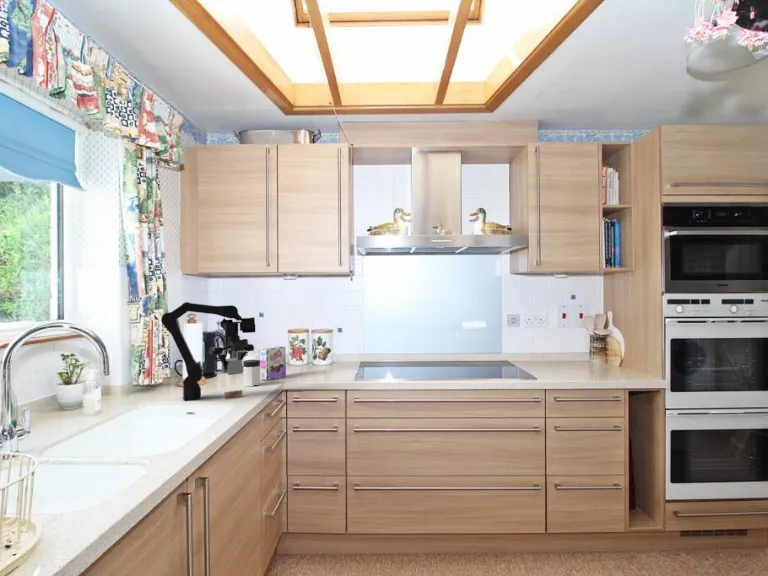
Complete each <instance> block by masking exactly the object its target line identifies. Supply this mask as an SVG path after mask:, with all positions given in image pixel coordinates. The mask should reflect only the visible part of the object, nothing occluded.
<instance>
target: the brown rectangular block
mask: <svg viewBox="0 0 768 576" xmlns="http://www.w3.org/2000/svg"><path fill="white" fill-rule="evenodd" d="M240 396H242V397H243V390H241V389H239V390H232V391H225V392H224V399H225V398H226V399H225V400H228V399H227V398H230V399H235V398H234V397H237V398H241V397H240Z"/></svg>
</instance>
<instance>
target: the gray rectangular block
mask: <svg viewBox="0 0 768 576" xmlns="http://www.w3.org/2000/svg"><path fill="white" fill-rule="evenodd" d="M221 374H227V375H228V376H231V375H232V376H234V375H240V374H243V360H241V359H237V358H236V357H232V358H226V369H224V367H223V365H222V364H221Z"/></svg>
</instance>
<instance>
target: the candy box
mask: <svg viewBox="0 0 768 576" xmlns="http://www.w3.org/2000/svg"><path fill="white" fill-rule="evenodd" d="M258 349H259V350H258V351H259V353H258V354H259V356H258V357H259V359H258V360H260V379H262V380H261V381H265V380H269V381H271V380H270V379H273V380H276V379H275V378H277V379H280V378H279V377H282V378H284V377H283V376H286V377H287V370H286V369H287V368H286V367H287V365H286V364H287V363H286V361H287V360H286V359H287V358H286V357H287V356H286V355H287V354H286V346H279V345H277V346H272V347H271V346H270V347H263V348H258Z"/></svg>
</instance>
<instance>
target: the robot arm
mask: <svg viewBox="0 0 768 576" xmlns="http://www.w3.org/2000/svg"><path fill="white" fill-rule="evenodd" d="M188 312H191V313H201V314H209V315H217V316H220V317H223V319H222V320H221V321H220V324H221V325H222V324H223V325H224V335H223V338H224V345H223V347H221V346H212V347H211V346H210V347H209V348H208V354H209V355H212V356H214V355H215V356H217V357H218V359H219V361H220V362H221V366H222V365H223V367H224V369H226V359H227V358H226V357H227V354H226V353H227V352H234V353H236V355H237V359H241V360H242V361H244V360H243V359H244V357H245V356H246V355H247V354H248V353H249V352H254V351H255V346H254V344H251V343H249V340H248V339H247V338H244V339H241V337H240V335H239V331H240V332H242V334H244V333H245V334H247V333H248V334H249V333H250V334H251V333H256V320H255V319H256V317H255V316H254V317H245V318H244V317H243V318H242V315H240V314H239V309H238V307H236V305H233V304H232V305H208V304H201V303H195V302H194V303H193V302H189V301H188V302H186V301H185V302H183V303H182V304H181V305H179V306H178V307H177V308H175V309H174V310H172V311H171V312H170V311H169V312H166V313H163V315H162V316H161V319H160V321H161V323H162V325H163V326H164V327H165V329H166V331H168V332H169V333H170V335H171V337H172V339H173V340H174V343H175V345H176V347H177V349H178V351H179V353H180V355H181V358H182V360H183V362H184V365H185V369H186V373H187V376H186V377H185V378H184V379H183V381H182V384H183V385H182V400H183V401H185V402H186V401H194V400H200V399H201V397H202V388H201V386H200V383H199V381H200V380H202V378H203V376H204V369H205V368H204V367H203V366H202V362H201V361H200V360H199V361H197V360H195V357H194V356H193V353H192V352H191V350H190V348H189V345H188V343H187V341H186V339H185V337H184V335H183V333H182V330H181V326H180V321H179V319H180V318H181V317H182V316H184V315H185V314H186V313H188ZM226 318H227V319H226ZM233 320H236V321H233Z"/></svg>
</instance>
